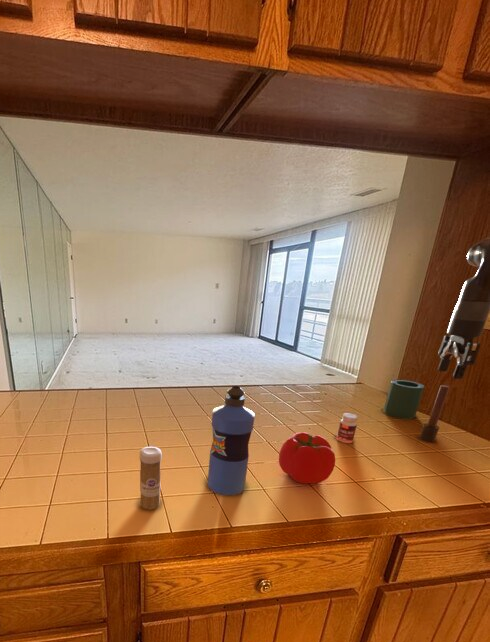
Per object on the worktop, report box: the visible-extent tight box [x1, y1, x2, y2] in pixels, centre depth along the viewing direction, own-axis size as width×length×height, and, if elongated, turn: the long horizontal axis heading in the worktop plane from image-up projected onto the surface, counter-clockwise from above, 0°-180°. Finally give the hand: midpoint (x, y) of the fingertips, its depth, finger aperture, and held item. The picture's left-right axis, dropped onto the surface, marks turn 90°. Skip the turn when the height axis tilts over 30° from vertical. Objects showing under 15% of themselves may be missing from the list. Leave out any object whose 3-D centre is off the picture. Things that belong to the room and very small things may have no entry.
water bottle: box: [207, 385, 256, 496], centre depth 80 cm, size 9×9×25 cm
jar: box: [382, 379, 426, 420], centre depth 129 cm, size 10×10×12 cm
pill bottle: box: [336, 412, 359, 444], centre depth 108 cm, size 5×5×8 cm
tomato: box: [278, 431, 336, 485], centre depth 87 cm, size 14×13×10 cm
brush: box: [419, 384, 450, 443], centre depth 107 cm, size 4×4×18 cm
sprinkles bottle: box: [139, 446, 162, 511], centre depth 74 cm, size 5×5×14 cm
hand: (449, 374), depth 102 cm, fingers open, 8 cm apart
